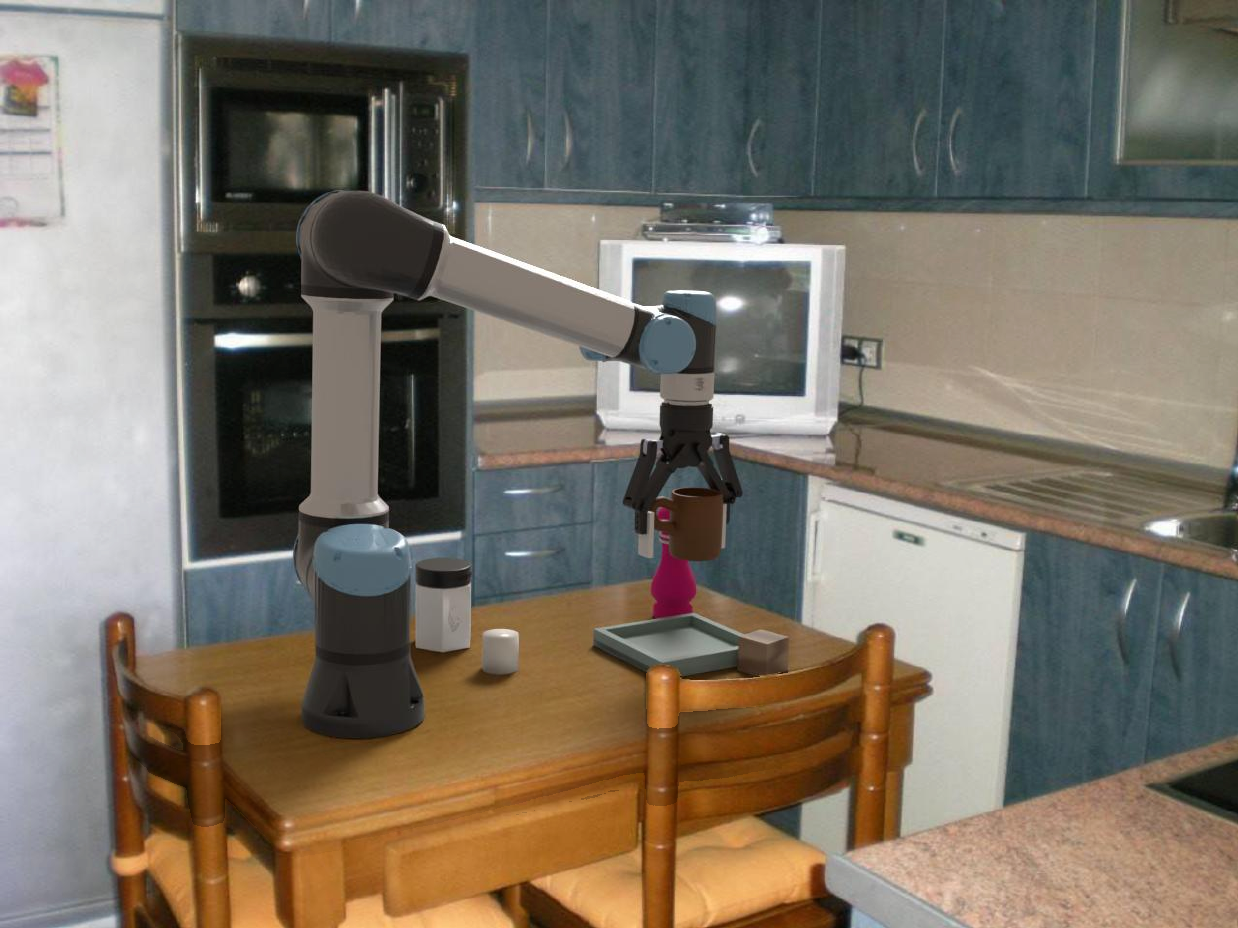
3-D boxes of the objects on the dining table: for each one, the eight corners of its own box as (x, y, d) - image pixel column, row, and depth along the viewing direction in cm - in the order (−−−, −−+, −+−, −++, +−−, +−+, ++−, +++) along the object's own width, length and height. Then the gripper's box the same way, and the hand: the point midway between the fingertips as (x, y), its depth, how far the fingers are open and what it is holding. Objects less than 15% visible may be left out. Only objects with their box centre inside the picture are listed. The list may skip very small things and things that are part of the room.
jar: (428, 655, 205) (428, 574, 203) (403, 641, 211) (403, 561, 209) (484, 646, 210) (484, 566, 208) (457, 632, 216) (457, 554, 214)
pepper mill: (657, 607, 232) (661, 486, 228) (700, 612, 230) (705, 490, 226) (644, 619, 225) (647, 494, 222) (688, 624, 223) (693, 498, 219)
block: (765, 678, 199) (767, 644, 198) (737, 670, 202) (738, 636, 201) (787, 671, 202) (789, 636, 201) (759, 662, 206) (760, 629, 205)
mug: (657, 567, 200) (659, 501, 199) (632, 554, 207) (634, 490, 205) (731, 559, 206) (733, 495, 204) (704, 547, 212) (706, 485, 211)
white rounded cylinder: (492, 676, 197) (492, 641, 196) (475, 666, 201) (476, 631, 200) (524, 671, 199) (525, 636, 198) (507, 661, 203) (508, 626, 203)
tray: (662, 680, 197) (662, 662, 196) (593, 644, 212) (593, 628, 211) (765, 660, 206) (766, 643, 206) (693, 628, 221) (693, 612, 221)
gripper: (629, 409, 193) (625, 566, 197) (771, 400, 206) (764, 547, 210) (599, 402, 199) (596, 554, 203) (739, 393, 212) (733, 536, 216)
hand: (682, 551), depth 206 cm, fingers closed on mug, 12 cm apart
